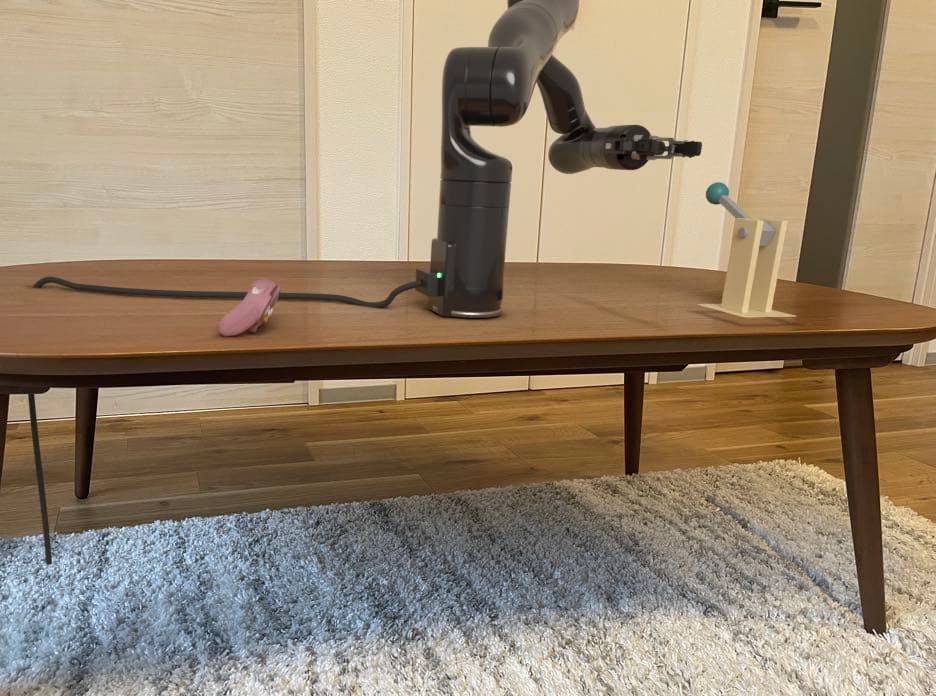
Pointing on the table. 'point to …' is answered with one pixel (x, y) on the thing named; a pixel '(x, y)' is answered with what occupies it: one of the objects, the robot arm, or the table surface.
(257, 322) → the pink rounded piece
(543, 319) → the table surface
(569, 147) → the robot arm
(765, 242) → the lever
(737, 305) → the bracket
